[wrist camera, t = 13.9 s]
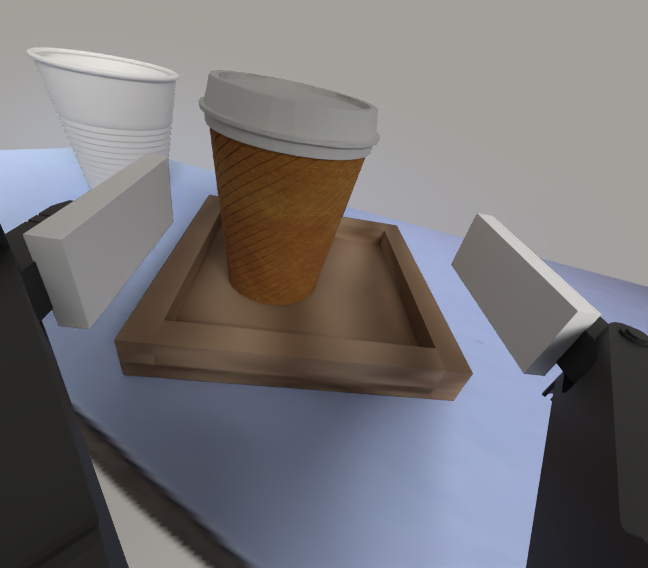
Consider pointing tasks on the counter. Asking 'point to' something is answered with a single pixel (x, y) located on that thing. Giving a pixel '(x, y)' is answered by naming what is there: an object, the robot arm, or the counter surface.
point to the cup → (108, 107)
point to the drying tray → (297, 321)
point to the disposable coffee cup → (282, 177)
